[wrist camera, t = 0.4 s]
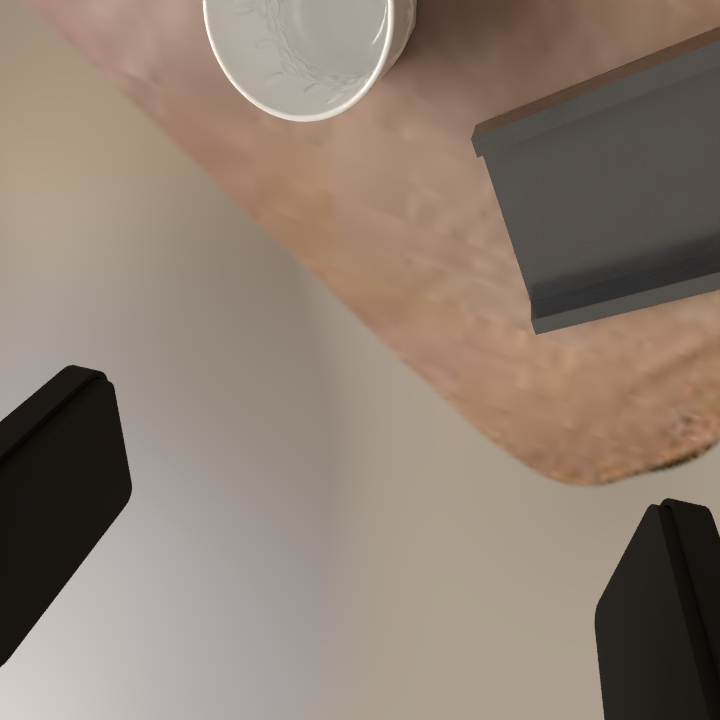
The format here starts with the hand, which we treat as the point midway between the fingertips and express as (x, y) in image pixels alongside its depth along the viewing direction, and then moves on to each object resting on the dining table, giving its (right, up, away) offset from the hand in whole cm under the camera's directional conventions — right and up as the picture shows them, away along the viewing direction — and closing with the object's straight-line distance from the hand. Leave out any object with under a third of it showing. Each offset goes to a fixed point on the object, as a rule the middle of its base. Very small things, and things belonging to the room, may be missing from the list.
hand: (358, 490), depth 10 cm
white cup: (0, +21, +21) cm, 30 cm away
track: (+18, +13, +21) cm, 30 cm away
